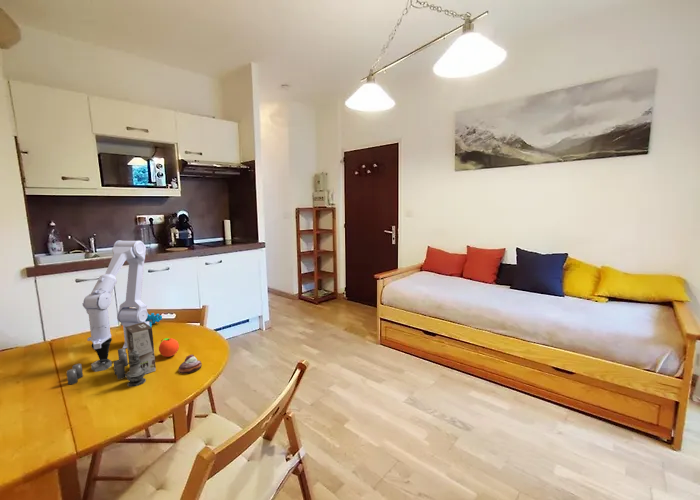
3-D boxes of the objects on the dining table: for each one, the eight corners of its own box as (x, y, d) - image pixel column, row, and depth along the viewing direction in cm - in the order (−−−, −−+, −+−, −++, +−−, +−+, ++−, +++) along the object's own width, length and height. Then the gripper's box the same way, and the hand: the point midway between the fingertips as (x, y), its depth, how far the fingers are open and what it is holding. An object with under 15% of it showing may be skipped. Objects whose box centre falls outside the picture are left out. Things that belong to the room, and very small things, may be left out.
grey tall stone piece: (124, 389, 106) (121, 354, 104) (127, 380, 111) (123, 347, 109) (146, 384, 109) (142, 350, 107) (147, 376, 114) (144, 343, 112)
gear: (165, 318, 164) (158, 309, 156) (165, 329, 161) (158, 321, 153) (140, 323, 161) (132, 315, 153) (140, 335, 158) (131, 326, 150)
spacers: (131, 357, 127) (130, 346, 126) (125, 378, 112) (123, 366, 112) (78, 367, 120) (76, 355, 119) (63, 390, 105) (62, 378, 104)
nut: (113, 363, 123) (112, 357, 123) (110, 369, 119) (109, 363, 118) (93, 366, 120) (92, 361, 120) (89, 373, 116) (89, 367, 116)
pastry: (195, 361, 124) (194, 349, 123) (206, 367, 120) (205, 355, 119) (174, 370, 118) (173, 357, 117) (185, 377, 113) (183, 363, 113)
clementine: (153, 357, 127) (151, 340, 126) (169, 350, 133) (167, 333, 132) (168, 361, 124) (166, 343, 123) (183, 353, 130) (182, 336, 129)
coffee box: (156, 370, 117) (152, 327, 115) (136, 377, 113) (131, 333, 110) (148, 362, 124) (144, 321, 121) (129, 368, 119) (124, 326, 116)
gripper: (91, 320, 126) (95, 353, 128) (80, 334, 113) (85, 370, 115) (113, 317, 129) (117, 350, 131) (105, 330, 116) (110, 366, 118)
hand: (103, 359), depth 123 cm, fingers closed
